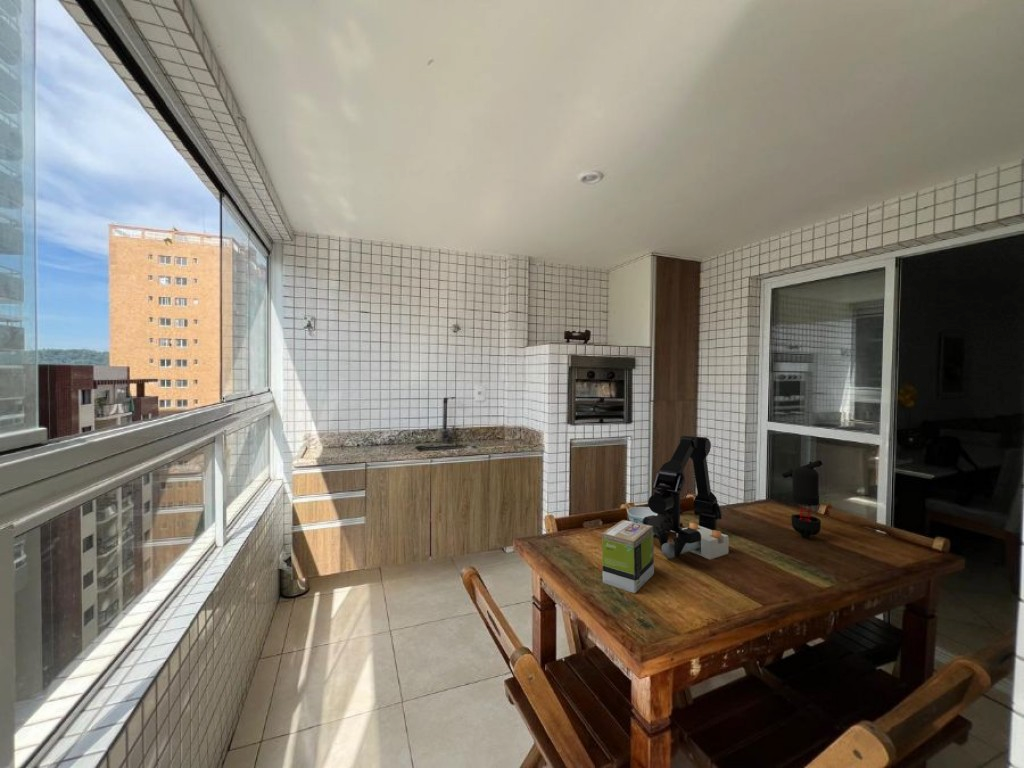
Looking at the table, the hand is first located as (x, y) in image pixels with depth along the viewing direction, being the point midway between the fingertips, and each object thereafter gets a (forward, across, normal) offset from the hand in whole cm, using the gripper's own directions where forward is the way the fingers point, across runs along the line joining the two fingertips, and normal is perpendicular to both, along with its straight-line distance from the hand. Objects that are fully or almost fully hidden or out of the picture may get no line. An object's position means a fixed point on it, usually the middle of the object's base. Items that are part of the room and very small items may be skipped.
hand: (670, 554), depth 129 cm
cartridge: (+1, 0, +6) cm, 6 cm away
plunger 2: (-4, +4, +17) cm, 18 cm away
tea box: (+2, +3, -22) cm, 22 cm away
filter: (+2, +10, +60) cm, 61 cm away
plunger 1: (-4, -4, +17) cm, 18 cm away
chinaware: (+2, -21, +12) cm, 24 cm away
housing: (+2, 0, +16) cm, 16 cm away
